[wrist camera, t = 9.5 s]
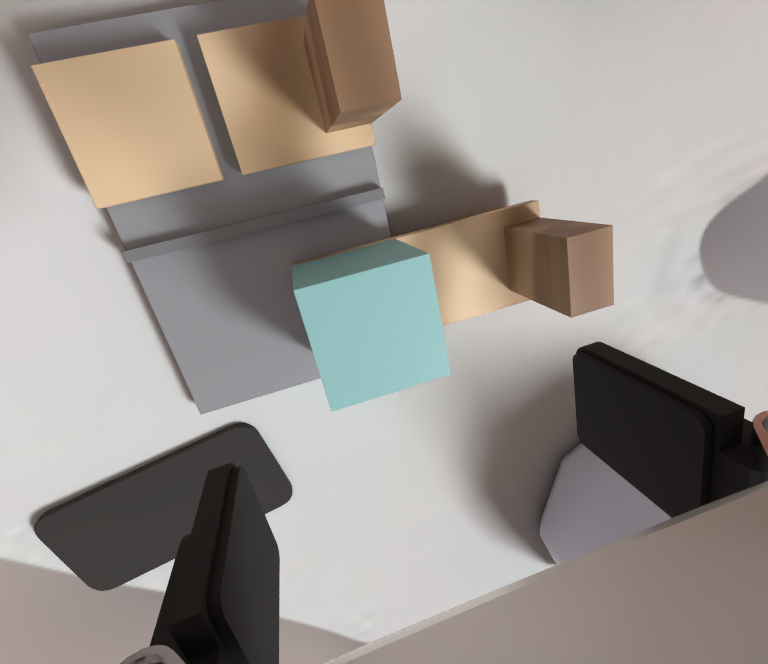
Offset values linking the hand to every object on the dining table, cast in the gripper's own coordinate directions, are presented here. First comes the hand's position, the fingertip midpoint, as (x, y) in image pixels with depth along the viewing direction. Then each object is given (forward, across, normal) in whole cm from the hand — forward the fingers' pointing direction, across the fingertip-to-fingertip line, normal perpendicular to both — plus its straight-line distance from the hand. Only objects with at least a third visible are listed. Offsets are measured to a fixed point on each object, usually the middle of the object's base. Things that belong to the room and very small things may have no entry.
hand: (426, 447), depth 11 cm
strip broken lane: (+15, 0, -11) cm, 19 cm away
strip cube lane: (+15, -5, 0) cm, 16 cm away
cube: (+14, -1, 0) cm, 14 cm away
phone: (+17, +15, +11) cm, 25 cm away
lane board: (+16, +3, -6) cm, 18 cm away
